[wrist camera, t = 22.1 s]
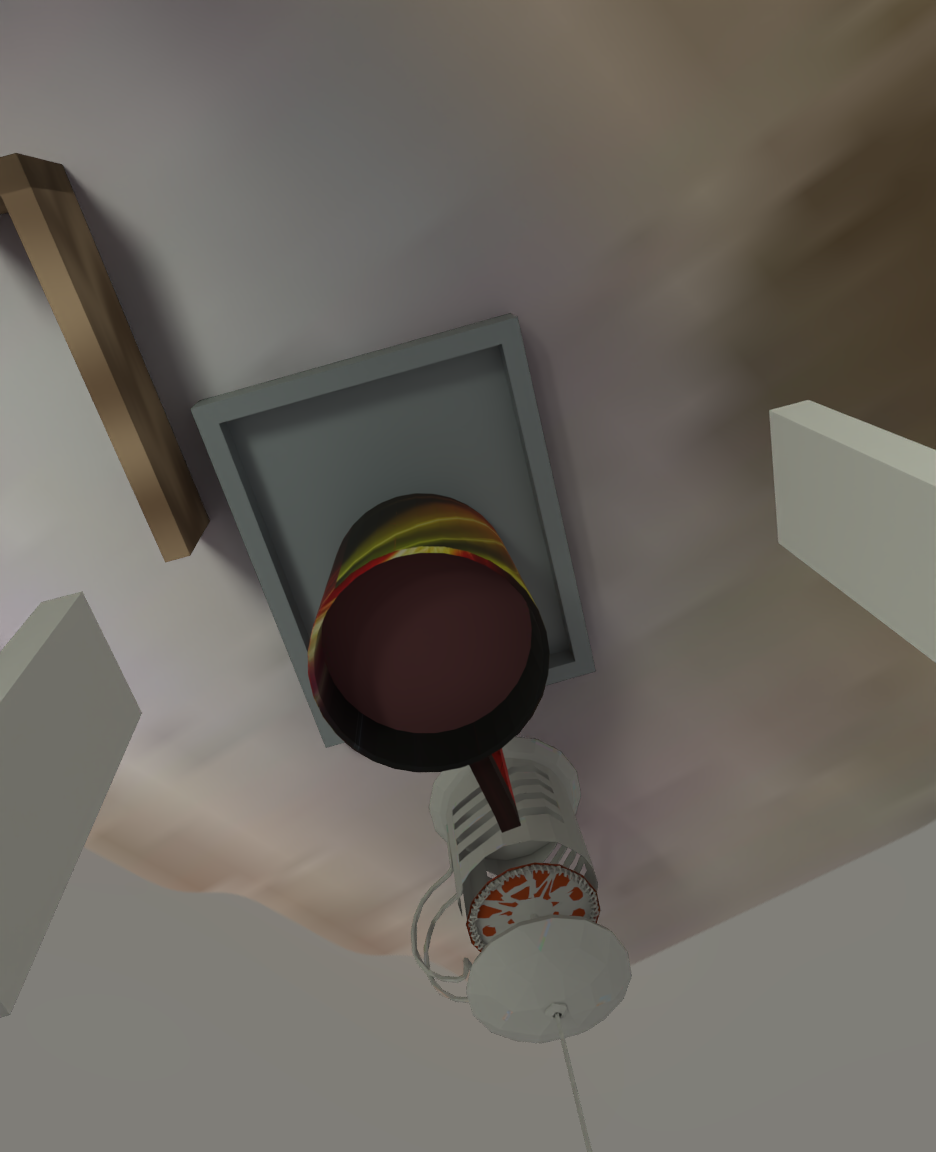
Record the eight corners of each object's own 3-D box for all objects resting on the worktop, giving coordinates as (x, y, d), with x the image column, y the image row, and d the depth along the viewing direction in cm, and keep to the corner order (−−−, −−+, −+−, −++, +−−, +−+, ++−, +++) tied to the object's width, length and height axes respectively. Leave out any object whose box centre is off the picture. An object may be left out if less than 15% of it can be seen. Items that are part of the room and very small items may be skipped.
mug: (487, 739, 46) (516, 867, 35) (295, 592, 43) (256, 680, 31) (601, 617, 45) (670, 708, 33) (411, 455, 42) (415, 494, 30)
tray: (199, 400, 40) (190, 409, 38) (510, 313, 40) (517, 316, 38) (327, 727, 48) (325, 747, 46) (586, 654, 48) (595, 671, 46)
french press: (601, 825, 53) (779, 1273, 30) (441, 893, 54) (494, 1381, 31) (549, 712, 49) (706, 1126, 26) (376, 786, 50) (382, 1253, 27)
